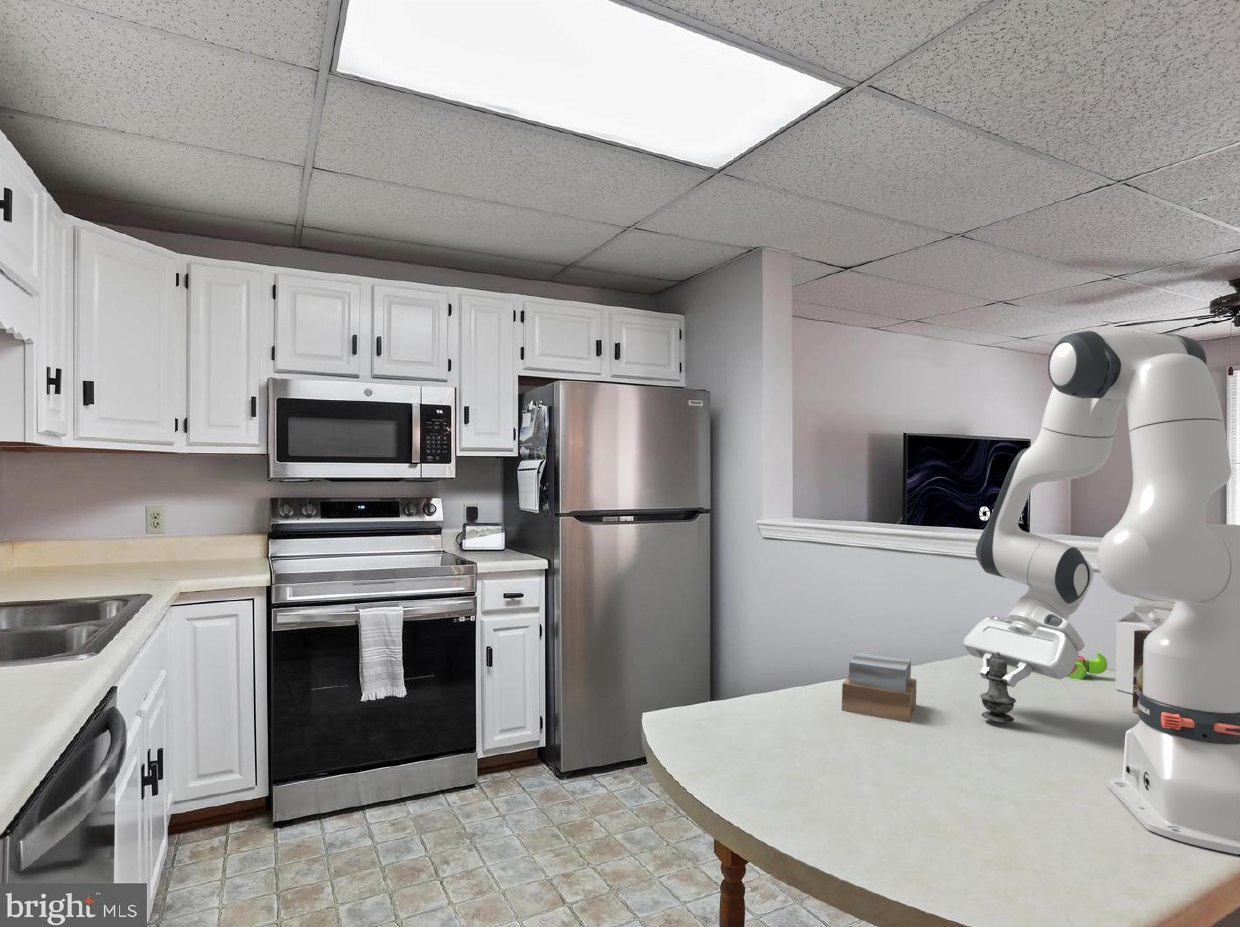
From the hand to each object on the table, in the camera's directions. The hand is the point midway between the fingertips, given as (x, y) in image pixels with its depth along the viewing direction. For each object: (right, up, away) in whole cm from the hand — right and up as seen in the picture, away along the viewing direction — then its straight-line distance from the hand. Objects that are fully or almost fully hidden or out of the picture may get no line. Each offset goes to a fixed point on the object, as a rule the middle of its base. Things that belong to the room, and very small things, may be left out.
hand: (995, 680), depth 132 cm
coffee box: (+36, -9, +6) cm, 38 cm away
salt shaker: (0, -7, 0) cm, 7 cm away
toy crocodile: (+35, -10, +39) cm, 53 cm away
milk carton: (+44, -10, +24) cm, 51 cm away
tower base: (-19, -7, +7) cm, 21 cm away
